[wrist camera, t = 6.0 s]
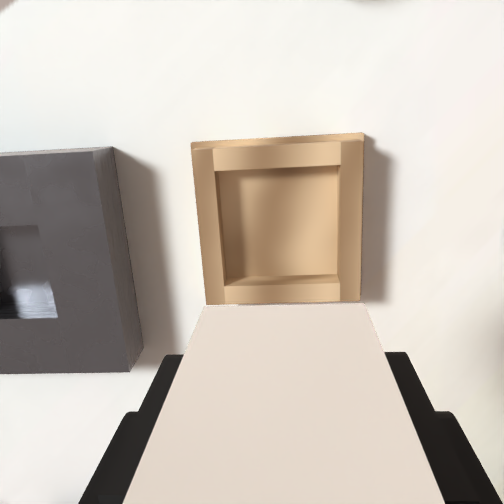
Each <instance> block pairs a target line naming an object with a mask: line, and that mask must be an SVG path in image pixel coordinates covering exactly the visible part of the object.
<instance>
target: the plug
mask: <svg viewBox="0 0 504 504" xmlns="http://www.w3.org/2000/svg"><path fill="white" fill-rule="evenodd" d="M123 504H445V502H444V500H443V497H442V495H441V492H440V490H439V487H438V485H437V482H436V480H435V477H434V475H433V472H432V470H431V467H430V465H429V463H428V460H427V458H426V455H425V453H424V450H423V448H422V445H421V443H420V440H419V438H418V435H417V433H416V430H415V428H414V425H413V423H412V420H411V418H410V415H409V413H408V410H407V408H406V405H405V403H404V400H403V398H402V395H401V393H400V390H399V388H398V385H397V383H396V381H395V378H394V376H393V373H392V371H391V368H390V366H389V363H388V361H387V358H386V356H385V353H384V351H383V348H382V346H381V343H380V341H379V338H378V336H377V333H376V331H375V328H374V326H373V323H372V321H371V318H370V316H369V313H368V311H367V308H366V306H365V303H346V304H299V305H253V306H207V307H203V310H202V312H201V314H200V317H199V319H198V322H197V324H196V327H195V329H194V331H193V334H192V336H191V339H190V341H189V344H188V346H187V348H186V351H185V353H184V356H183V358H182V361H181V363H180V365H179V368H178V370H177V373H176V375H175V378H174V380H173V382H172V385H171V387H170V390H169V392H168V395H167V397H166V399H165V402H164V404H163V407H162V409H161V412H160V414H159V416H158V419H157V421H156V424H155V426H154V429H153V431H152V433H151V436H150V438H149V441H148V443H147V446H146V448H145V450H144V453H143V455H142V458H141V460H140V463H139V465H138V467H137V470H136V472H135V475H134V477H133V480H132V482H131V484H130V487H129V489H128V492H127V494H126V497H125V499H124V501H123Z"/></svg>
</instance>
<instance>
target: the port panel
mask: <svg viewBox="0 0 504 504" xmlns="http://www.w3.org/2000/svg"><path fill="white" fill-rule="evenodd" d="M142 350H143V341H142V335H141V328H140V322H139V315H138V309H137V302H136V296H135V289H134V283H133V276H132V270H131V263H130V257H129V250H128V244H127V237H126V231H125V224H124V217H123V211H122V204H121V198H120V191H119V185H118V178H117V172H116V165H115V159H114V152H113V147H95V148H77V149H59V150H41V151H23V152H5V153H0V374H36V373H110V372H130V371H131V369H132V367H133V365H134V364H135V362H136V360H137V358H138V357H139V355H140V353H141V352H142Z"/></svg>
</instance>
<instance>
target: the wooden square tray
mask: <svg viewBox="0 0 504 504" xmlns="http://www.w3.org/2000/svg"><path fill="white" fill-rule="evenodd" d="M191 155H192V165H193V175H194V185H195V195H196V205H197V215H198V225H199V235H200V246H201V256H202V266H203V276H204V286H205V296H206V305H222V304H261V303H299V302H338V301H360V295H361V261H362V214H363V167H364V133H346V134H328V135H310V136H292V137H274V138H256V139H238V140H220V141H202V142H192V143H191Z"/></svg>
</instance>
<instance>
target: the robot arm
mask: <svg viewBox="0 0 504 504" xmlns="http://www.w3.org/2000/svg"><path fill="white" fill-rule="evenodd" d="M384 353H385V356H386V358H387V361H388V363H389V366H390V368H391V371H392V373H393V376H394V378H395V381H396V383H397V385H398V388H399V390H400V393H401V395H402V398H403V400H404V403H405V405H406V408H407V410H408V413H409V415H410V418H411V420H412V423H413V425H414V428H415V430H416V433H417V435H418V438H419V440H420V443H421V445H422V448H423V450H424V453H425V455H426V458H427V460H428V463H429V465H430V467H431V470H432V472H433V475H434V477H435V480H436V482H437V485H438V487H439V490H440V492H441V495H442V497H443V500H444V502H445V504H503V503H502V501H501V500H500V498H499V496H498V494H497V492H496V490H495V489H494V487H493V485H492V483H491V481H490V479H489V478H488V476H487V474H486V472H485V470H484V469H483V467H482V465H481V463H480V461H479V459H478V458H477V456H476V454H475V452H474V450H473V448H472V447H471V445H470V443H469V441H468V439H467V437H466V436H465V434H464V432H463V430H462V428H461V427H460V425H459V423H458V421H457V419H456V418H455V416H454V415H453V413H451V412H449V411H435V410H434V408H433V406H432V404H431V402H430V400H429V398H428V396H427V394H426V392H425V390H424V388H423V386H422V384H421V382H420V380H419V378H418V376H417V373H416V371H415V369H414V367H413V365H412V363H411V361H410V359H409V357H408V355H407V354H406V352H384ZM183 356H184V355H166V356H165V357H164V359H163V361H162V363H161V365H160V367H159V369H158V371H157V374H156V376H155V378H154V380H153V382H152V384H151V386H150V388H149V390H148V392H147V394H146V396H145V398H144V400H143V402H142V405H141V407H140V409H139V411H138V412H128V413H126V414H125V416H124V417H123V419H122V421H121V423H120V425H119V427H118V429H117V430H116V432H115V434H114V436H113V438H112V440H111V442H110V444H109V446H108V448H107V450H106V452H105V453H104V455H103V457H102V459H101V461H100V463H99V465H98V467H97V469H96V471H95V473H94V474H93V476H92V478H91V480H90V482H89V484H88V486H87V488H86V490H85V492H84V494H83V496H82V497H81V499H80V501H79V503H78V504H123V501H124V499H125V497H126V494H127V492H128V489H129V487H130V484H131V482H132V480H133V477H134V475H135V472H136V470H137V467H138V465H139V463H140V460H141V458H142V455H143V453H144V450H145V448H146V446H147V443H148V441H149V438H150V436H151V433H152V431H153V429H154V426H155V424H156V421H157V419H158V416H159V414H160V412H161V409H162V407H163V404H164V402H165V399H166V397H167V395H168V392H169V390H170V387H171V385H172V382H173V380H174V378H175V375H176V373H177V370H178V368H179V365H180V363H181V361H182V358H183Z"/></svg>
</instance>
